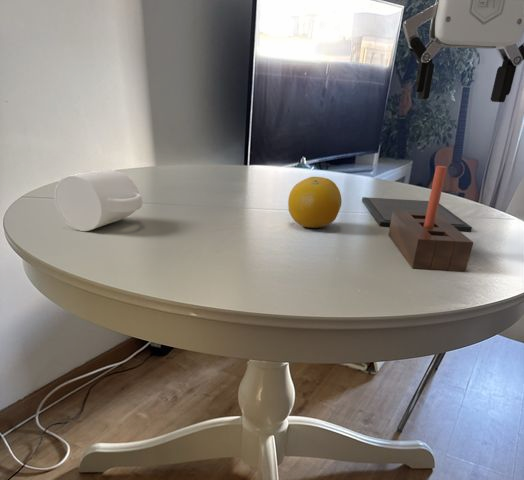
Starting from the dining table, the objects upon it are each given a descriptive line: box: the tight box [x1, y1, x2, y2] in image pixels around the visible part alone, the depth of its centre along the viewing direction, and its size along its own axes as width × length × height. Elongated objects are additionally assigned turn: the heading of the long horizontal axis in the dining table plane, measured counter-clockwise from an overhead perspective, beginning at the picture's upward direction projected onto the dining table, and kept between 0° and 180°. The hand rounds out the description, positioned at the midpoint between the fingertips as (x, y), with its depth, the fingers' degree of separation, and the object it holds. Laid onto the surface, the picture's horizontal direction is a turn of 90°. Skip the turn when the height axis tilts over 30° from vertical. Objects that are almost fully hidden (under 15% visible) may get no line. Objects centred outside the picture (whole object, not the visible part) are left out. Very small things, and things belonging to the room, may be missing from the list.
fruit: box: [287, 176, 343, 229], centre depth 79 cm, size 9×8×8 cm
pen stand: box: [387, 211, 474, 273], centre depth 71 cm, size 7×17×4 cm, turn 178°
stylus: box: [424, 165, 448, 227], centre depth 69 cm, size 1×1×12 cm
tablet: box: [361, 196, 473, 233], centre depth 93 cm, size 16×22×1 cm
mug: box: [54, 168, 143, 232], centre depth 74 cm, size 12×9×8 cm
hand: (459, 100), depth 62 cm, fingers open, 9 cm apart
